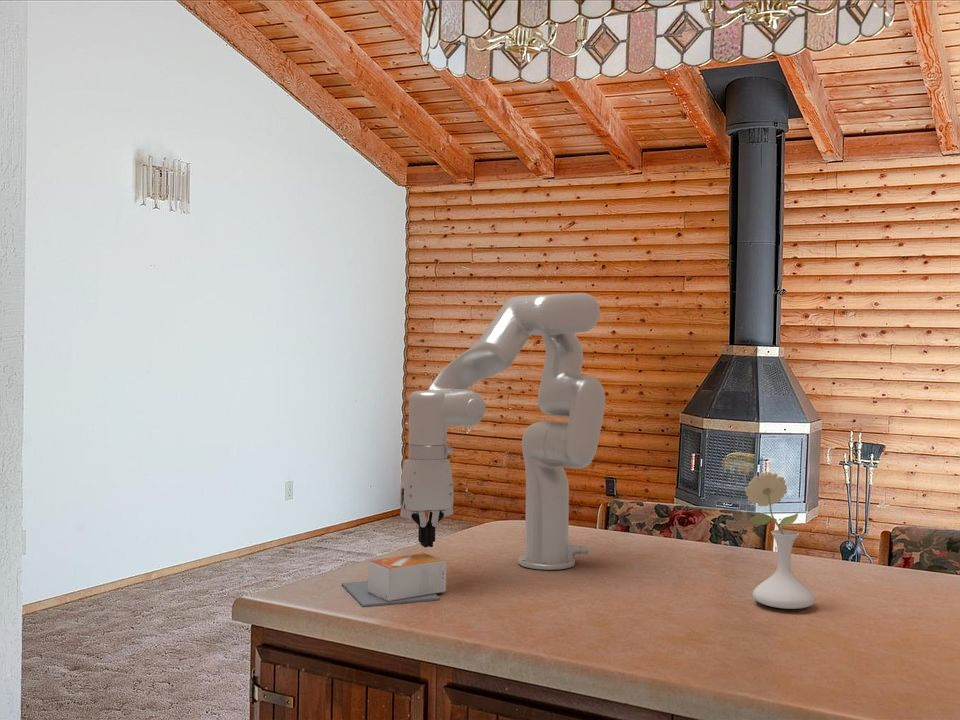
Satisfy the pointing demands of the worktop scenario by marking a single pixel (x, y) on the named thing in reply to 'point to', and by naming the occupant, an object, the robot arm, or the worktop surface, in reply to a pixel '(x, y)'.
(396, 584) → the small box
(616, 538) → the worktop surface
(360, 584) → the mat
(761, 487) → the flower in vase
